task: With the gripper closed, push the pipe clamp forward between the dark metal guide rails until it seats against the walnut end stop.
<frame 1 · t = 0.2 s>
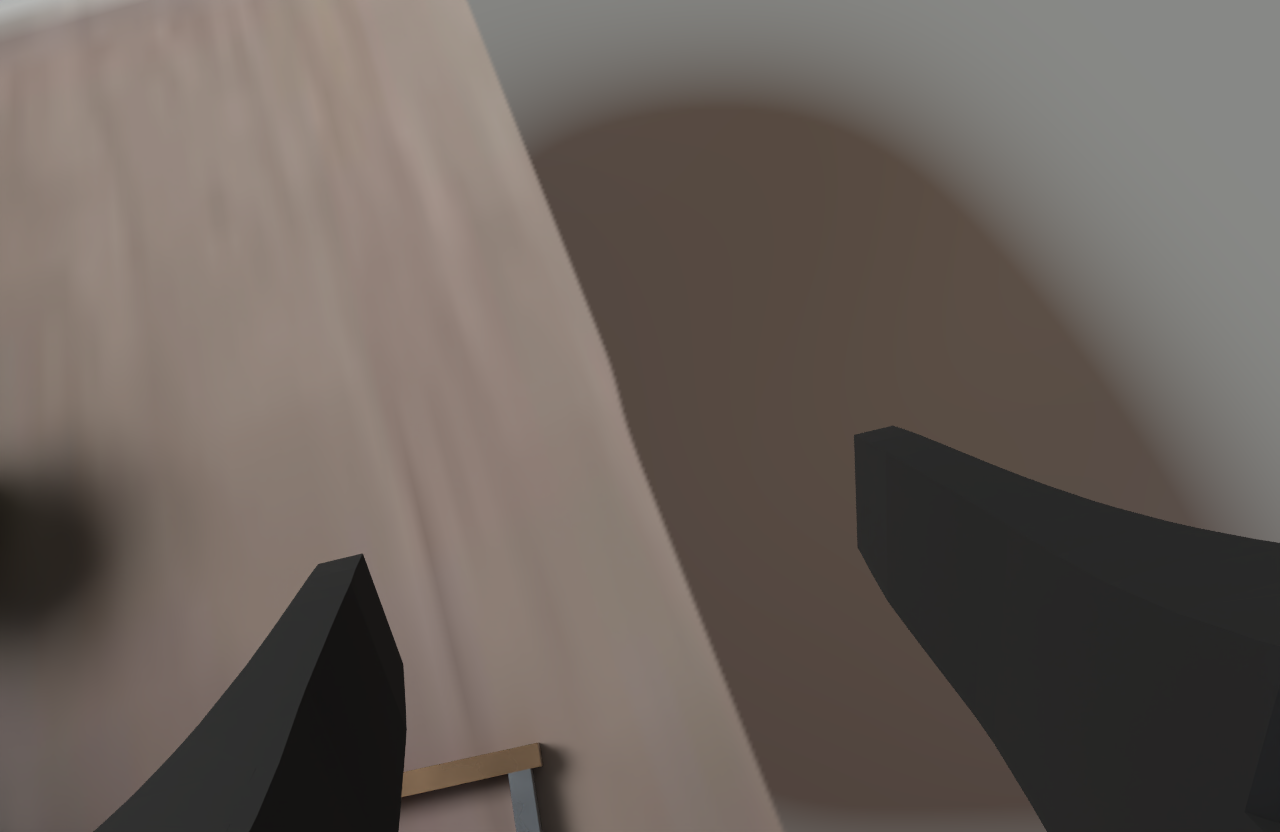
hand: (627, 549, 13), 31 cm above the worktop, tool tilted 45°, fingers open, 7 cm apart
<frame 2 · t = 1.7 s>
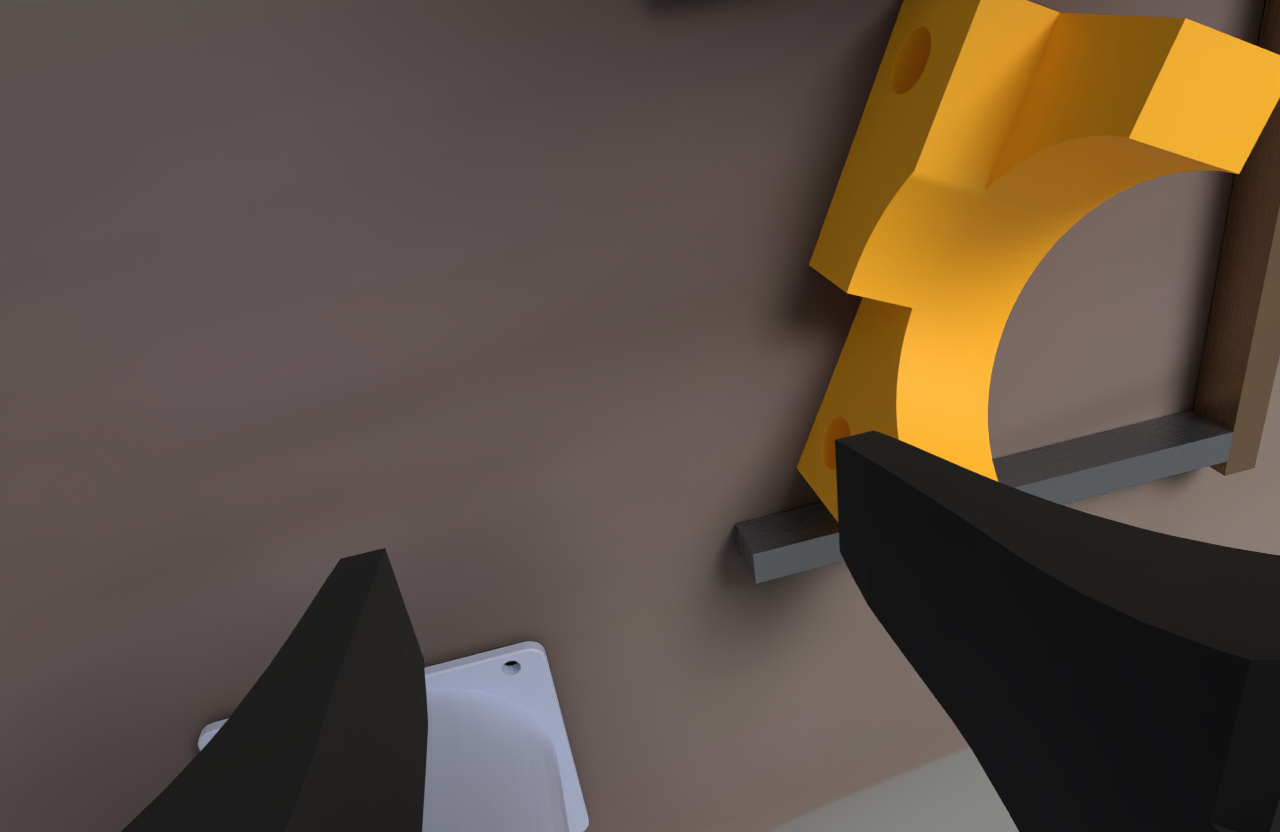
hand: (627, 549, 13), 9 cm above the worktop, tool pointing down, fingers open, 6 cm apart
pipe clamp: (883, 261, 22), on the worktop
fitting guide: (1009, 225, 22), on the worktop
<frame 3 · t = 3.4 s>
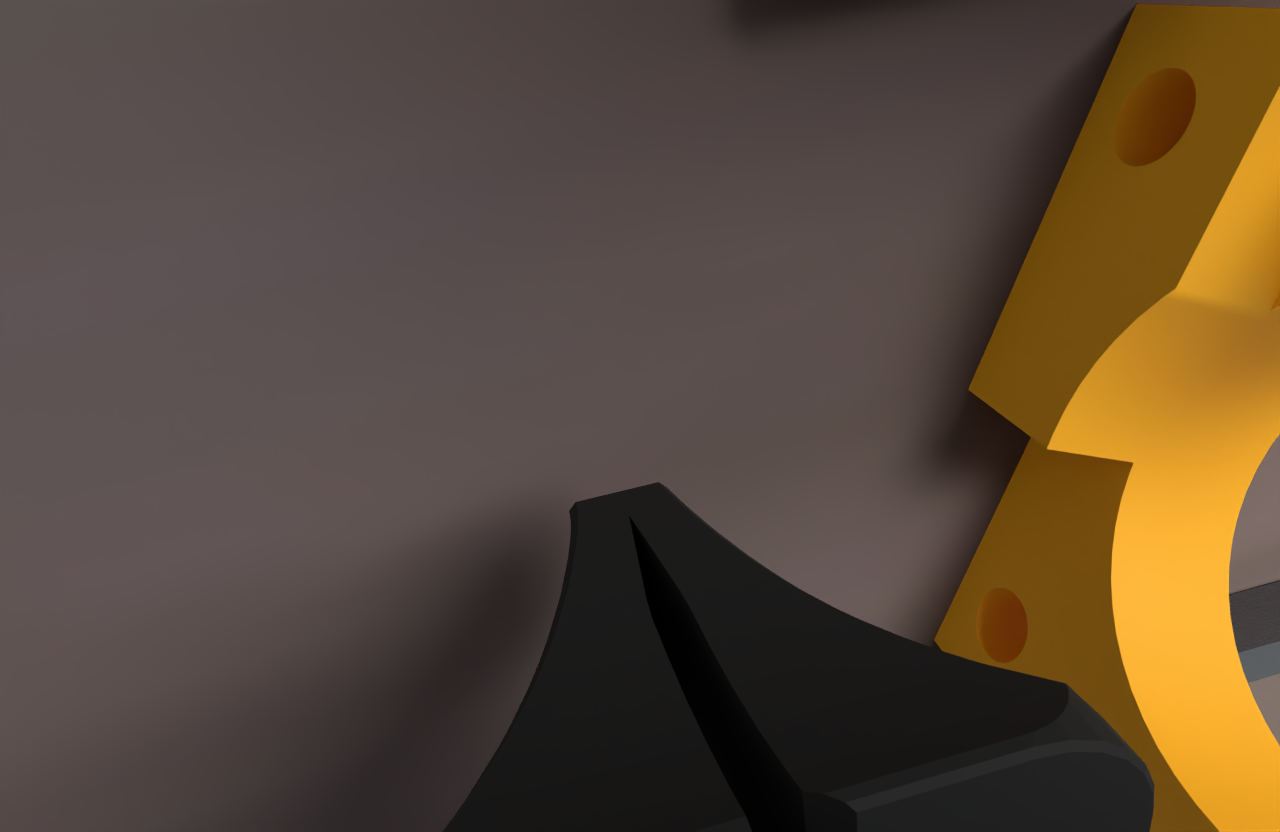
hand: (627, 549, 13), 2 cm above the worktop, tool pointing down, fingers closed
pipe clamp: (1063, 376, 16), on the worktop
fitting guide: (1210, 324, 16), on the worktop
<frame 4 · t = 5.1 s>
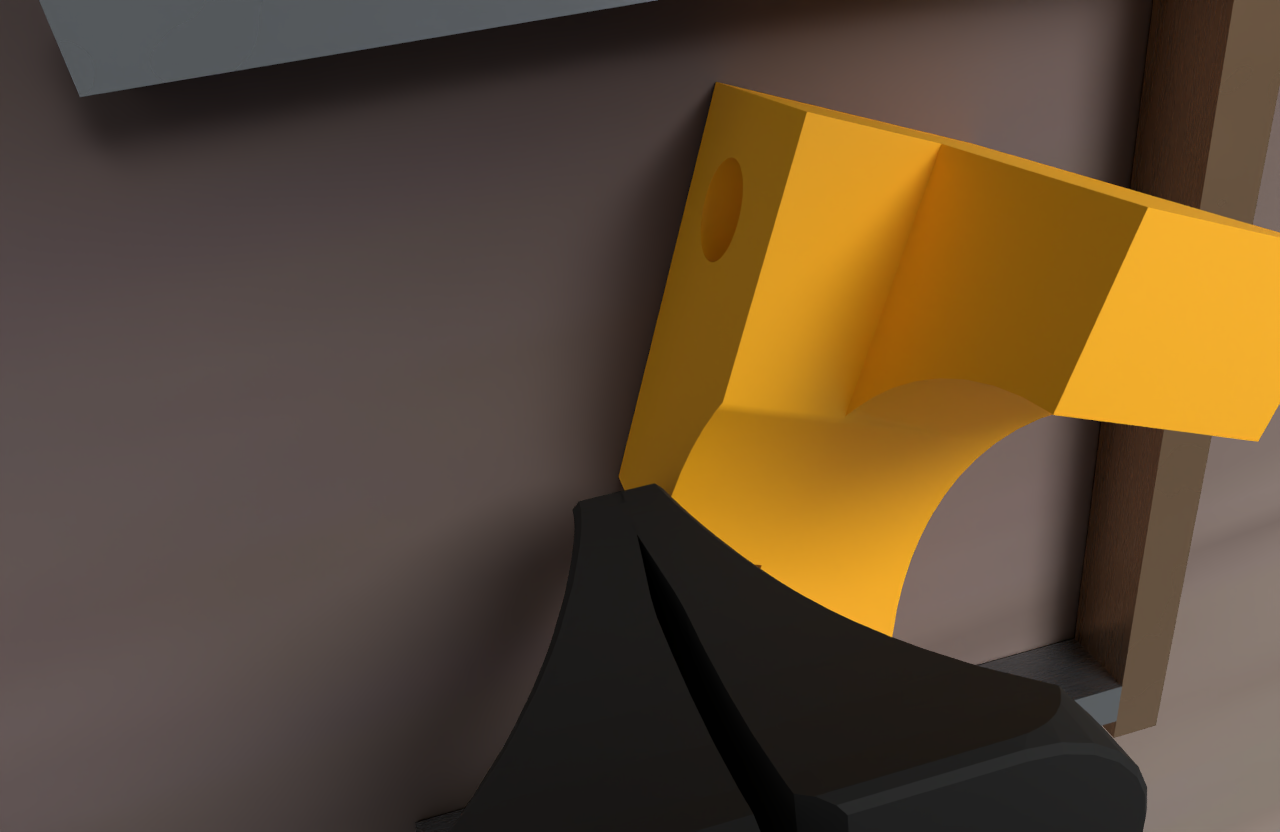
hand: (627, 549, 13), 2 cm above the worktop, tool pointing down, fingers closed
pipe clamp: (737, 458, 16), on the worktop, touching gripper
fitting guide: (772, 428, 15), on the worktop
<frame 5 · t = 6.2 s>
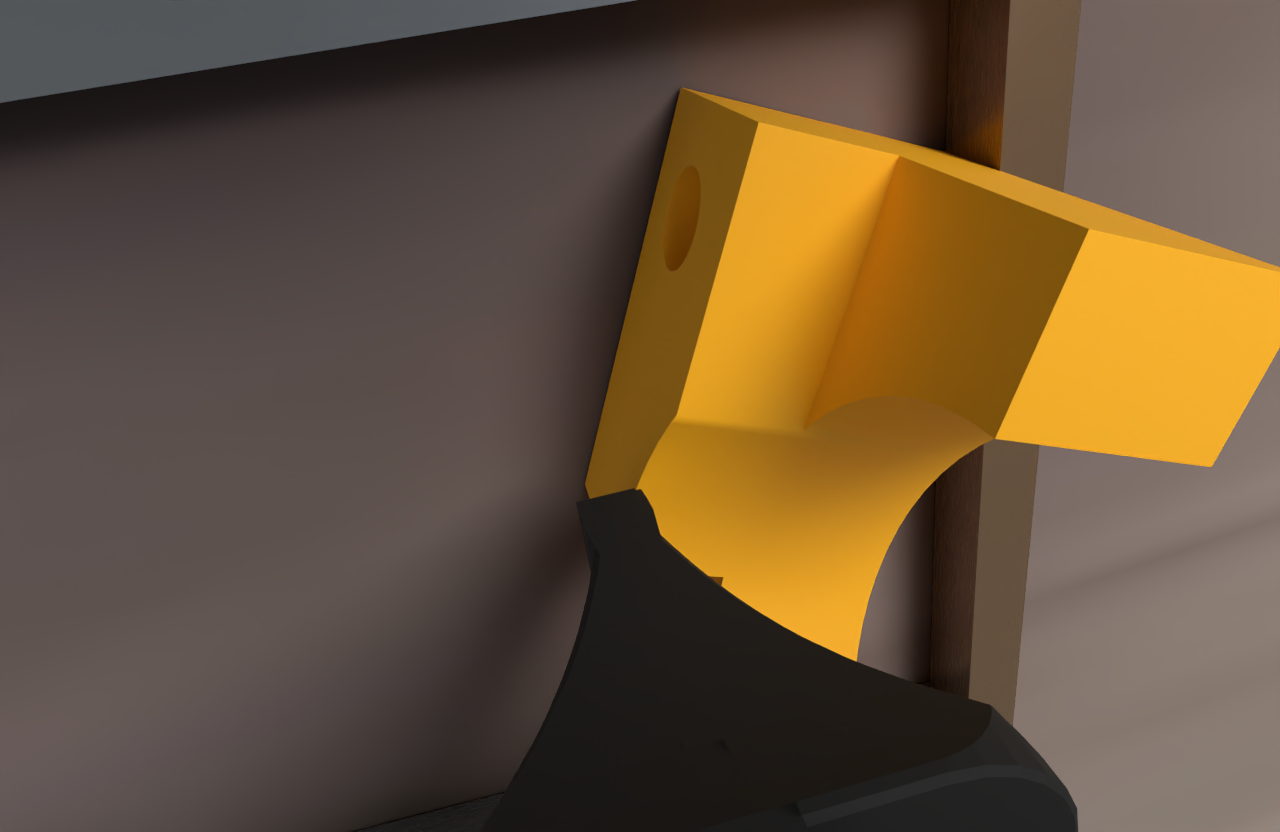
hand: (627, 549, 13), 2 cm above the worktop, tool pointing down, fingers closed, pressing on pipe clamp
pipe clamp: (707, 467, 15), on the worktop, touching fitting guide, gripper
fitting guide: (576, 472, 15), on the worktop
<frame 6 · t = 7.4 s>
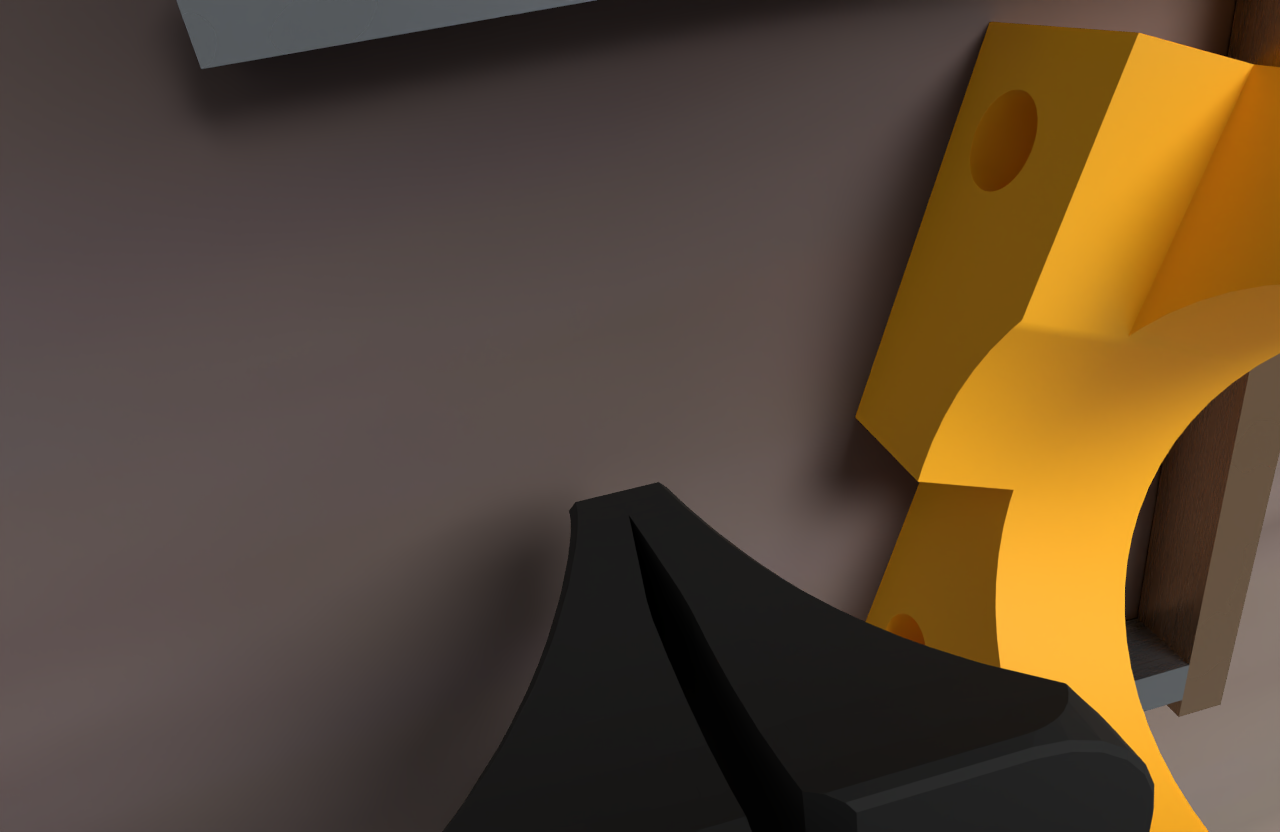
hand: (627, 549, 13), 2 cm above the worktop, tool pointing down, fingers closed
pipe clamp: (958, 396, 16), on the worktop
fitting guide: (849, 405, 15), on the worktop
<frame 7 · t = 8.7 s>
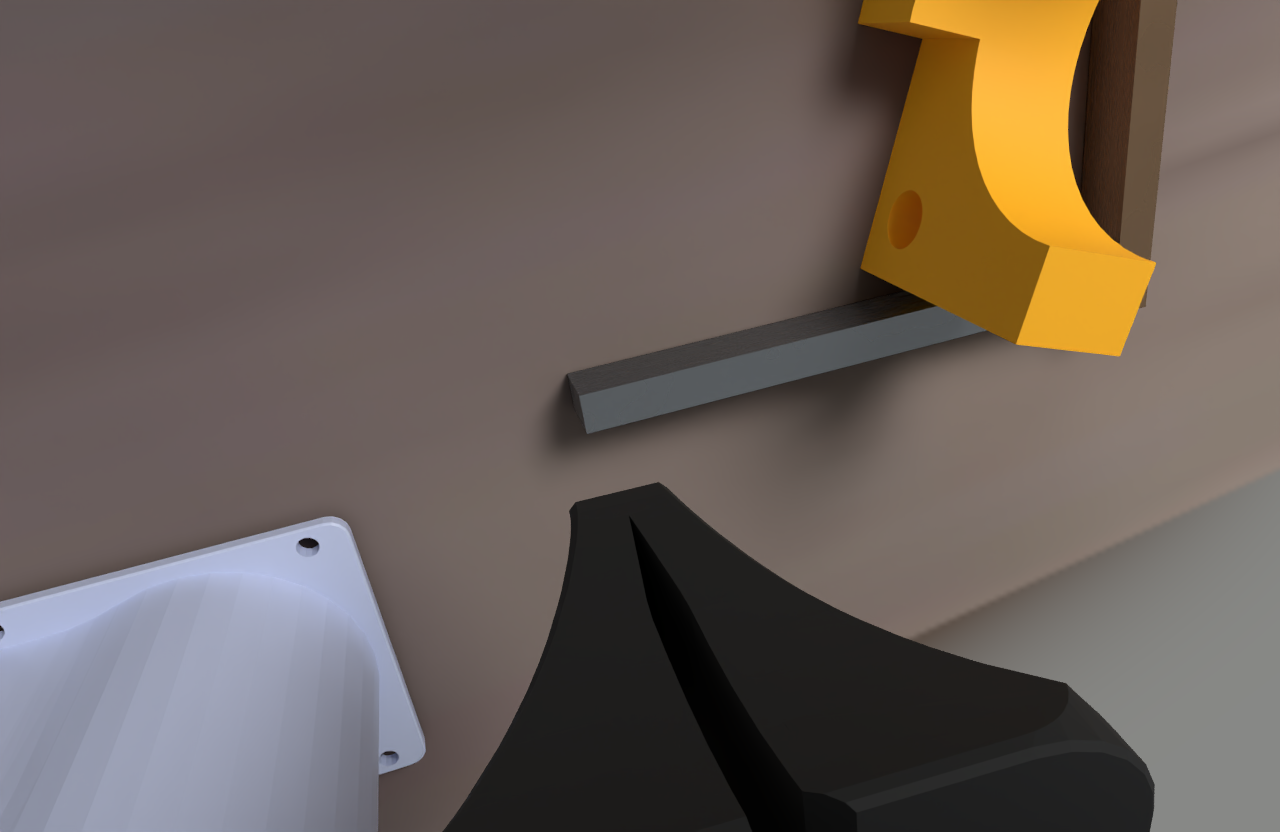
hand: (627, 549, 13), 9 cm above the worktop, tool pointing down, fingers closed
pipe clamp: (934, 21, 21), on the worktop
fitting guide: (849, 10, 20), on the worktop
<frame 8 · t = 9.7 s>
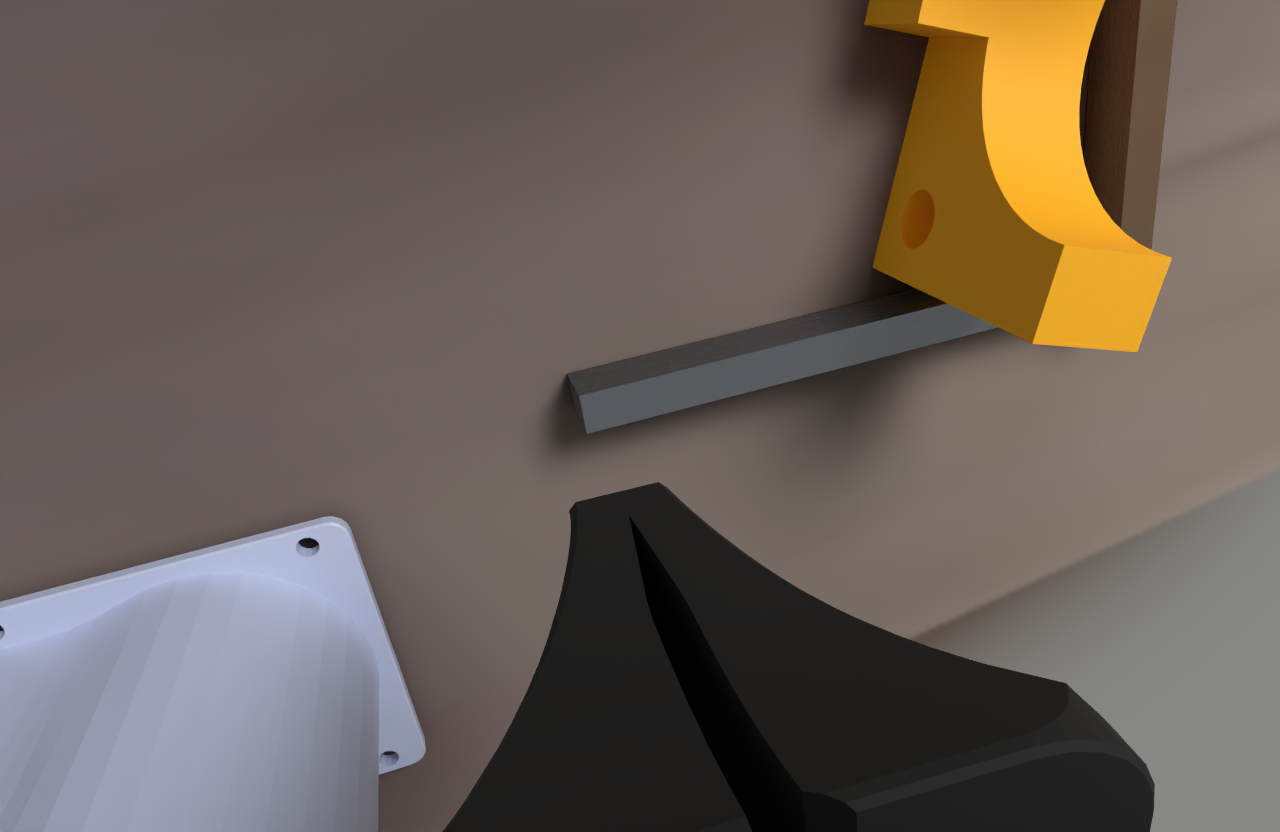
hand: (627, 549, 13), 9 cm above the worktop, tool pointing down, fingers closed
pipe clamp: (942, 19, 21), on the worktop
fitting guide: (849, 10, 20), on the worktop
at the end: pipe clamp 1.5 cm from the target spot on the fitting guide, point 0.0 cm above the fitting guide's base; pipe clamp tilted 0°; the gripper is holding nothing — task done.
